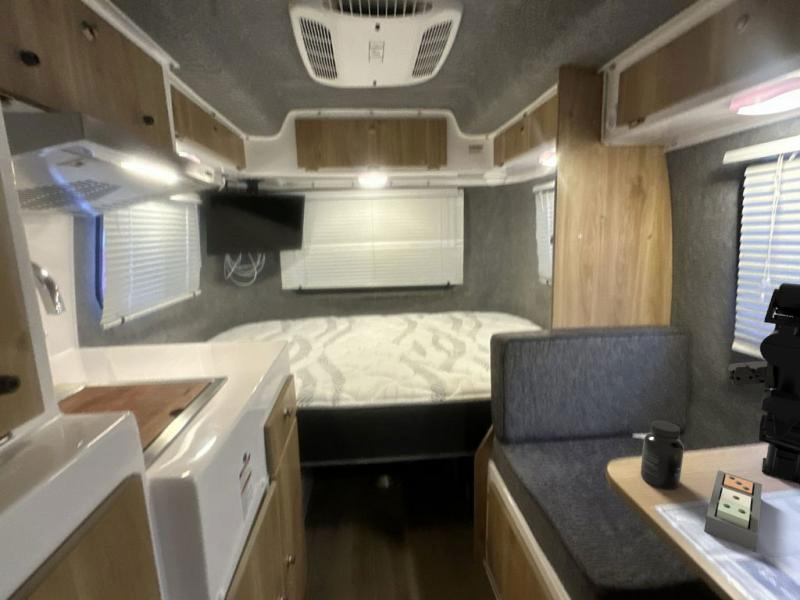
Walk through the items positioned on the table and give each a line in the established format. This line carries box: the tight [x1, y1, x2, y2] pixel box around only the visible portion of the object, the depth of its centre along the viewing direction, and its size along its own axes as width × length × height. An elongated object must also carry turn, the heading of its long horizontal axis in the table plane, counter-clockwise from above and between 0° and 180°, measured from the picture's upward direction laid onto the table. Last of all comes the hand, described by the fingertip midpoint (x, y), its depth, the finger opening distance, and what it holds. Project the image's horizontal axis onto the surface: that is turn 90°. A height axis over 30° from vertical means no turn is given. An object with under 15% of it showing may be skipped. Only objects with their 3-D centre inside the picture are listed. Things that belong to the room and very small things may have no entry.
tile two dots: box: [717, 498, 750, 529], centre depth 68 cm, size 4×4×3 cm
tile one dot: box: [721, 488, 751, 508], centre depth 73 cm, size 4×4×3 cm
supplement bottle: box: [640, 420, 685, 490], centre depth 82 cm, size 7×7×12 cm
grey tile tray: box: [704, 470, 763, 552], centre depth 73 cm, size 17×7×3 cm, turn 137°
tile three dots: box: [724, 474, 753, 495], centre depth 76 cm, size 4×4×3 cm
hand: (779, 434), depth 75 cm, fingers closed
